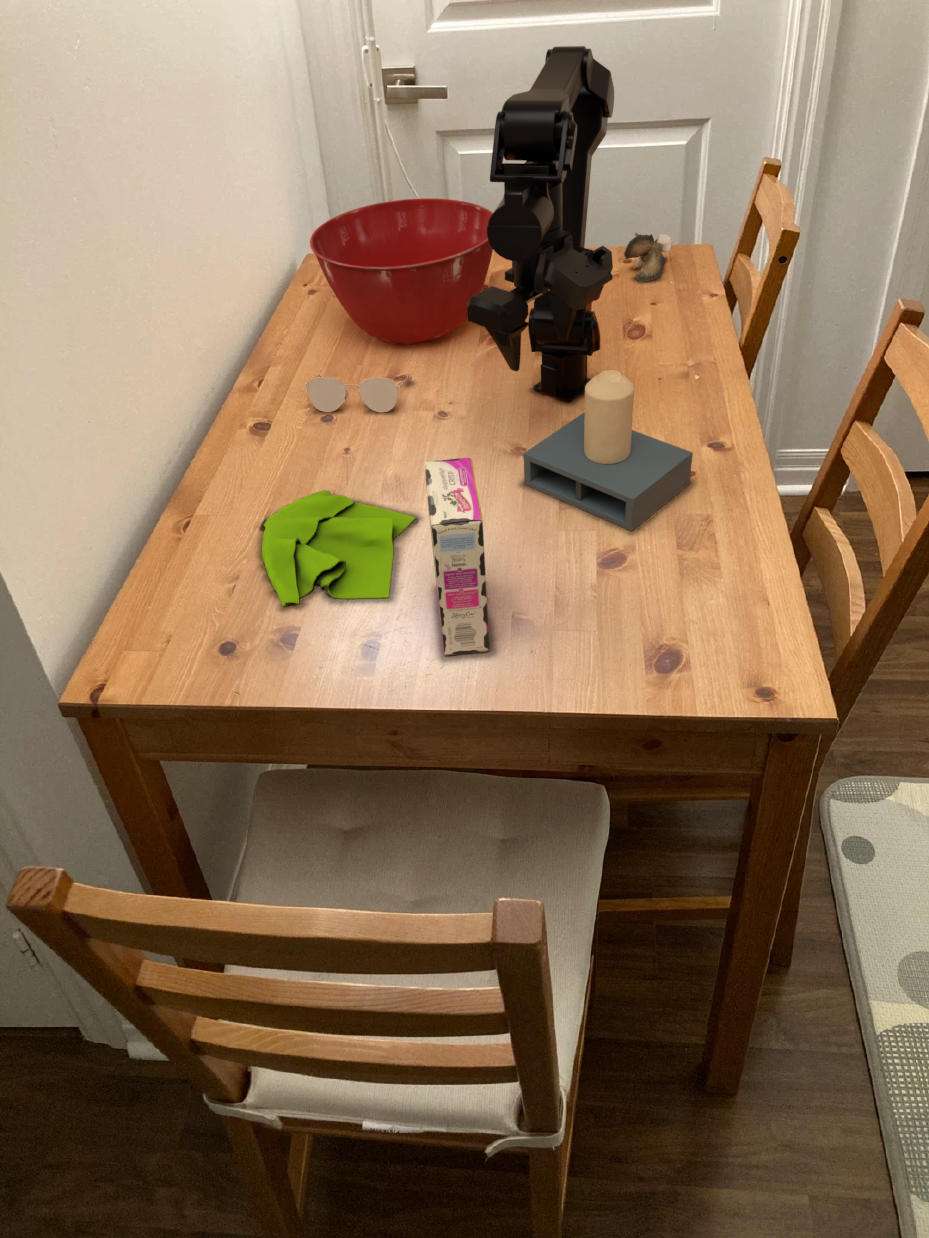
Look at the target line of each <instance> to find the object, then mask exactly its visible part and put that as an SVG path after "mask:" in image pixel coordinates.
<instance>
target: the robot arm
mask: <svg viewBox="0 0 929 1238" xmlns="http://www.w3.org/2000/svg"><path fill="white" fill-rule="evenodd" d="M546 50H547V51H546V54H545V59H544V60H545V62H544V65H543V67H542V68H541V69H540V72H539V73H538V75H537V76H536V78H535V80H534V82H533V84H532V85H531V87H530V89H529V90H528V91H522V92H519V93H514V94H512V95H511V96H510V97H509V98H507V99H506V100H505V101H504V103H503V105H502V107H501V110H500V111H498V112H497V114H496V117H495V125H494V134H493V143H492V153H491V163H490V172H489V183H503V186H504V193H503V197H502V199H501V201H500V202H499V203H498V205H497V206H496V208H495V209H494V211H492V212H493V214H492V216H491V217H490V219H489V223H488V227H487V236H488V241H489V243H490V245H491V247H492V248H493V252H494V253H496V254H497V255H498V256H499V257H501V258H503V259H505V260H507V261H511V268H509V269H507V270H505V271H504V281H506V282H509V283H512V284H513V286H514V288H513V289H511V290H507V289H502V288H499V287H495V286H493V285H491V286H490V287H488V288H486V289H483V290H481V292H480V293H478V294H476V295H475V296H473V297H471V299H470V300H469V301H468V302H467V315H468V318H467V322H469V323H472V324H475V325H478V326H480V327H483V328H485V330H486V332H487V333H488V334H489V336H490V337H491V339H492V340H493V341H494V343H495V345H496V347H497V349H498V350H499V352H500V353H501V355H502V358H503V359H504V360H505V361H504V362H505V363H506V364H507V366H508V367H509V369H510V370H511V371H513V372H518V371H520V366H521V353H522V350H521V349H522V333H523V331H525V330H526V328H527V327H528V328H527V329H528V337H529V338H528V339H529V345H530V351H531V353H541V364H540V381H539V382H537V383H536V384H534V385H533V391H535V392H538V393H540V394H543V395H547V396H549V397H552V398H555V399H556V400H560V401H562V402H566V403H570V402H572V401H573V400H575V399H577V398H578V397H580V396H582V395H583V394H585V386H586V384H587V383H588V382H589V381H590V380H591V379H592V378H589V377H588V357H593V355H594V353H596V352H597V351H600V349H601V331H600V325H599V322H598V319H597V315H596V313H595V311H594V310H592V308H593V307H592V306H593V302H594V301H598V300H599V299H600V297H601V294H602V292H603V289H604V286H605V285H606V284H608V283H609V282H611V281H612V280H613V279H614V277H613V274H612V271H613V269H614V268H613V267H614V266H613V265H614V263H613V251H612V250H610V249H608V248H607V247H606V246H604V245H601V246H599V247H597V248H595V249H589V248H587V247H585V244H586V231H587V222H588V221H587V220H588V209H589V195H590V186H591V185H590V183H591V170H592V161H593V160H592V158H593V155H594V154H595V153H596V151H597V149H598V147H599V146H600V144H601V143H602V142H603V140H604V139H605V137H606V135H607V129H608V121H609V118H612V117H613V114H614V107H615V87H614V86H615V85H614V81H613V76H612V72H611V70H610V69H608V68H607V67H606V66H604V65H603V64H602V63H600V62H599V61H598V60H596V59H595V58H594V55H593V51H592V49H591V48H587V47H586V46H585V45H571V46H570V45H567V46H566V45H565V46H563V45H562V46H560V45H559V46H554V47H552V48H548V49H546ZM504 160H505V161H520V162H521V161H525V162H524V163H519V162H518V163H515V162H514V163H513V162H511V163H510V162H504ZM503 162H504V163H503ZM532 301H533V307H531V309H530V311H529V303H530V302H532ZM527 318H528V321H527Z"/></svg>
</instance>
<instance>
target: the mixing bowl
mask: <svg viewBox="0 0 929 1238" xmlns="http://www.w3.org/2000/svg"><path fill="white" fill-rule="evenodd" d="M493 212H494V211H491V210H490V209H489V208H487V207H484V206H481V205H479V204H475V203H473V202H468V201H464V200H459V199H458V200H457V199H449V198H431V197H430V198H429V197H428V198H423V197H422V198H406V199H397V200H389V201H384V202H383V201H382V202H378V203H372V204H368V205H365V206H361V207H358V208H355V209H352V210H348V211H345V212H344V213H341V214H338V215H336V216H334V217H332V218H330V219H328V220H327V221H325V222H323V224H321V225H319V226H318V227H317V228H316V229H314V231H313V233H312V234H311V236H310V238H309V247H310V249H311V251H312V253H313V254H314V255H315V257H316V259H317V261H318V264H319V267H320V269H321V271H322V273H323V276H324V278H325V279H326V282H327V283H328V285H329V287H330V289H331V290H332V293H333V294H334V296H335V297H336V299H337V300H338V303H339V304H340V305H341V307H342V308H343V309H344V310H345V312H346V314H347V315H348V316H349V317H350V319H351V320H352V321H353V323H355V325H356V326H357V327H358V328H359V329H361V330H362V331H363V332H365V333H366V334H368V335H370V336H372V337H374V338H377V339H379V340H381V341H382V342H385V343H389V344H394V345H400V346H402V345H403V346H409V345H410V346H411V345H421V344H426V343H430V342H434V341H437V340H440V339H442V338H445V337H447V336H448V335H450V334H451V333H452V332H454V330H455V329H457V328H458V327H460V326H461V325H462V324H463V323H464V322H466V321H467V320H468V315H467V302H468V301H469V300H470V299H471V297H473V296H475V295H476V294H478V293H480V292H482V291H483V287H484V285H485V281H486V279H487V275H488V273H489V268H490V266H491V262H492V261H491V260H492V256H493V252H494V250H493V248H492V247H491V245H490V243H489V241H488V236H487V227H488V223H489V219H490V217H491V216H492V214H493Z"/></svg>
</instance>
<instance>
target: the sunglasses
mask: <svg viewBox="0 0 929 1238" xmlns="http://www.w3.org/2000/svg"><path fill="white" fill-rule="evenodd" d="M407 379H408V380H407ZM406 381H408V384H410V382H411V380H410V375H409V374H408V375H406V377H405V378H404V380H403V381H402V383H401V384H397V383H396V382H395V381H394V380H393V379H391V378H389V377H384V376H378V377H368V378H365V379H363V380H362V381H361V383H360V384H356V383H347V384H344V383H343V382H342V381H341V380H340V379H337V378H334V377H327V376H326V377H325V376H321V375H320V374H317V375H315V376H314V377H313V378H311V379H310V380H309V381H307V382H306V383H304V384H303V387H304V388H307V394H308V397H309V400H310V403H311V404H312V405H313V406H314V408H315V409H316V410H317V411H320V412H323V413H331V412H332V413H333V412H335V411H337V410H338V409H339V408H340V407H341V406H342V404H343V403H344V402H345V401H346V400H347V398H348V397H349V393H350V392H349V390H348V389H347V388H346V387H348V386H356V387H358V396H359V397H360V398H361V400H362V401H363V403H364V405H365V406H366V407H368V408H369V409H370V410H371V411H373V412H376V413H379V414H380V413H381V414H382V413H387V412H390V411H391V410H393V409H394V407H395V406H396V404H397V401H398V397H399V396H398V393H399V391H398V388H402V387H403V385H404V384H405V382H406Z"/></svg>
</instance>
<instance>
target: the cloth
mask: <svg viewBox="0 0 929 1238" xmlns="http://www.w3.org/2000/svg"><path fill="white" fill-rule="evenodd" d="M415 520H416V516H412V515H409V514H405V513H401V512H398V511H394V510H390V509H386V508H382V507H378V506H375V505H370V504H365V503H362V502H356V501H355V500H353V499H351V498H350V497H348V496H346V495H342V494H332V493H331V492H330V490H321V491H316V492H313V493H311V494H309V495H306V496H302V497H300V498H298V499H297V500H295V501H293V502H291V503H289V504H287V505H285V506H283V507H281V508H280V509H279V510H277V511H275V513H273V514H271V515H269V516H268V517H267V518H266V519H265V521H264V523H263V524H262V526H263V527H264V530H263V533H262V534H263V535H262V544H261V555H262V556H261V558H262V562H263V565H264V567H265V572H266V575H267V578H268V579H269V581H270V584H271V586H272V589H273V590H274V592H275V593H276V594H277V597H278V598H279V601H280V603H281V606H282V607H287V606H289V605H292V604H297V605H299V604H300V599H302V598H304V597H306V596H307V595H308V594H310V593H311V592H312V591H313V590H314V583H315V584H317V585H319V586H320V589H323V590H325V592H326V594H328V595H329V596H330V597H331V598H334V599H339V600H341V599H342V600H355V599H356V600H358V599H361V600H363V599H389V597H390V596H389V595H390V591H391V590H390V589H391V579H392V574H393V561H394V544H393V542H394V540H395V539H396V538H397V537H398V536H399V535H400V534H402V533H403V532H405V530H407V528H408V527H409V526H410V525H411V524H412V523H413V522H414V521H415Z"/></svg>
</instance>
